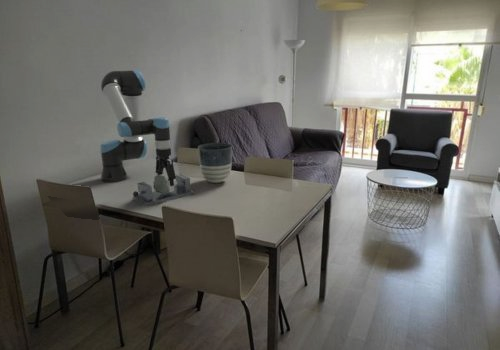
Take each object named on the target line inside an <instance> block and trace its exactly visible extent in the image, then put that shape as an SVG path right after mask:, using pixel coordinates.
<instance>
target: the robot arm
mask: <svg viewBox="0 0 500 350" xmlns="http://www.w3.org/2000/svg"><path fill="white" fill-rule="evenodd" d="M100 87H101V92H102V94H103V96H104V97H106V98H107V100H108V102H109V104H110V107H111V108H112V110H113V113H114V115H115V117H116V120H117V121H118V124H117V125H116V126H117V127H116V128H117V133H118V135H119V137H120V138H123V141H121V140H120V139H110V140H106V141H104V142H102V143H101V144H100V146H99V147H100V155H101V162H102V170H101V175H100V179H101V181H102V182H105V183H113V182H114V183H115V182H120V181H124V180H126V179H128V174H127V173H128V172H127V171H126V169H125V167H124V163H123V161H129V160H138V159H142V158H145V156H146V155H147V151H148V145H147V141H146V140H145V139H144V137H143V136H147V135H154V145H155V148H156V149H155V155H156V156H155V161H156V162H155V173H156V174H157V175H164V170H165V172H166V174H167V178H169V179H168V186H169V192H173V191H174V180H176V172H175V167H174V163H173V162H174V161H173V159H171V158H170V156H172V148H171V147H172V145H171V134H170V132H171V131H170V121H169V118H168V117H166V116H157V117H154V118H148V119H144V120H141V108H140V97H142V95H143V92H144V91H145V90H146V87H147V85H146V81H145V78H144V76H143V73H142V72H141V71H140V70H131V69H130V70H112V71H110V72H107V73H106V74H105V75H104V76H103V78H102V80H101V85H100Z"/></svg>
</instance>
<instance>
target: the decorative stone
mask: <svg viewBox="0 0 500 350" xmlns="http://www.w3.org/2000/svg"><path fill="white" fill-rule="evenodd" d="M153 179H154V180H153V186H152V187H153V188H152V189H153V190H154V191H156V192H160V193H167V192H169V186H168V179H169V178H168V176H166V175H164V174H162V175H155V176H154V178H153ZM177 184H178V183H177V181H176V179H174V188H175V187H176V186H177Z"/></svg>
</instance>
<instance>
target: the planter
mask: <svg viewBox="0 0 500 350" xmlns="http://www.w3.org/2000/svg"><path fill="white" fill-rule="evenodd" d="M197 151H198V159H199V160H198V161H199V168H200V172H201V175H202V177H203V178H204V179H205V180H206V181H208V182H209V183H212V184H219V183H222V182H224V181H226V180H227V179H228V178H229V176H230V175H231V171H232V159H233V158H232V157H233V156H232V155H233V146H232V144H229V143H225V142H210V143H204V144H200V145H198V146H197Z"/></svg>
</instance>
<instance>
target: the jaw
mask: <svg viewBox="0 0 500 350" xmlns="http://www.w3.org/2000/svg"><path fill="white" fill-rule="evenodd" d="M151 185H152V184H149V183H148V182H146V181H143V180H142V182H137V190H136V191H133V193H132V195H133V196H135V197H136V196H138V195H139V197H141V198H143V199H144V200H146V201H150V200H153V196H152V192H153V188H152V187H153V186H151ZM133 196H132V197H133Z"/></svg>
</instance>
